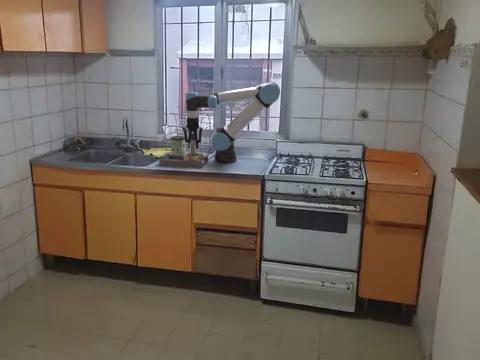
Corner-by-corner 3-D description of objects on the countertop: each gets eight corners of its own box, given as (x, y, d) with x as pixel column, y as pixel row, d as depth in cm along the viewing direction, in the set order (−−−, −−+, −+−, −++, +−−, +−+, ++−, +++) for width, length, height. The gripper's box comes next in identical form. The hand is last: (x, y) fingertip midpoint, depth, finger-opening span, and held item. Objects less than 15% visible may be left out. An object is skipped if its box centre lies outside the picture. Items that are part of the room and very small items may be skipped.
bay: (208, 162, 298) (208, 154, 296) (201, 168, 283) (201, 159, 281) (168, 160, 303) (168, 152, 302) (159, 165, 288) (159, 157, 287)
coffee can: (173, 155, 316) (172, 135, 313) (187, 155, 316) (186, 136, 312) (169, 158, 307) (168, 138, 303) (184, 159, 306) (183, 138, 302)
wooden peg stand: (203, 160, 295) (202, 132, 290) (198, 164, 285) (197, 135, 280) (189, 159, 297) (188, 131, 292) (183, 163, 287) (182, 134, 282)
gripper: (178, 117, 281) (180, 154, 288) (202, 118, 278) (203, 155, 285) (182, 115, 288) (183, 151, 295) (206, 116, 285) (206, 152, 292)
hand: (193, 153), depth 290 cm, fingers closed on wooden peg stand, 3 cm apart
